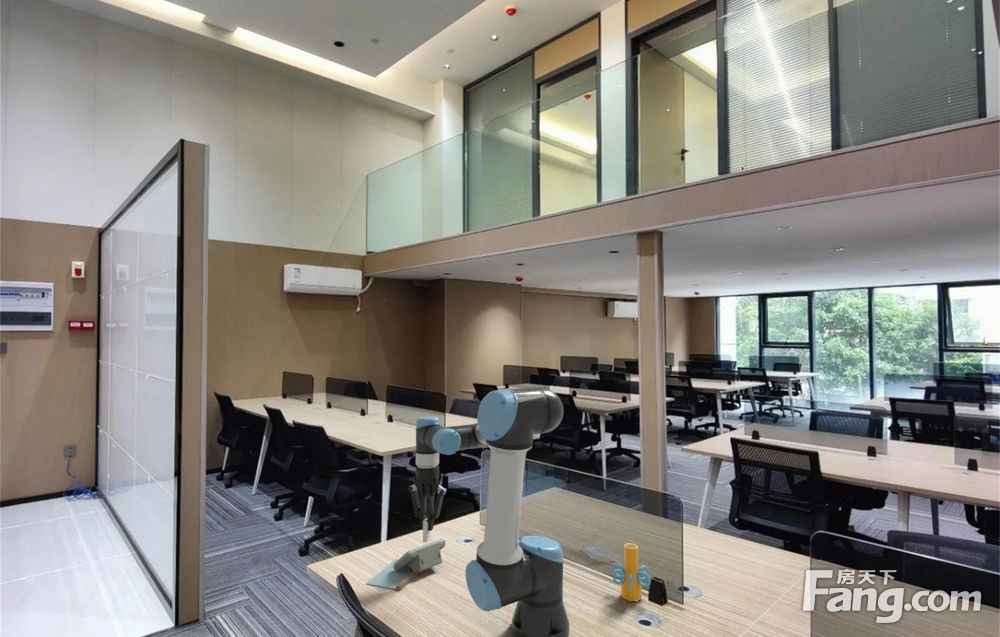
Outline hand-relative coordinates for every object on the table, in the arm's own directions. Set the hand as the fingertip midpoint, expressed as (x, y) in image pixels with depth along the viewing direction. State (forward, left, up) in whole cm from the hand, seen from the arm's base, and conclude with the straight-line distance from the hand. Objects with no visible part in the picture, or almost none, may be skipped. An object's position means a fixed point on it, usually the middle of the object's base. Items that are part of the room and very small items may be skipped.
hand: (426, 540), depth 156 cm
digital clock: (+1, -4, -6) cm, 7 cm away
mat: (+10, 0, -12) cm, 16 cm away
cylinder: (-63, -10, -13) cm, 65 cm away
